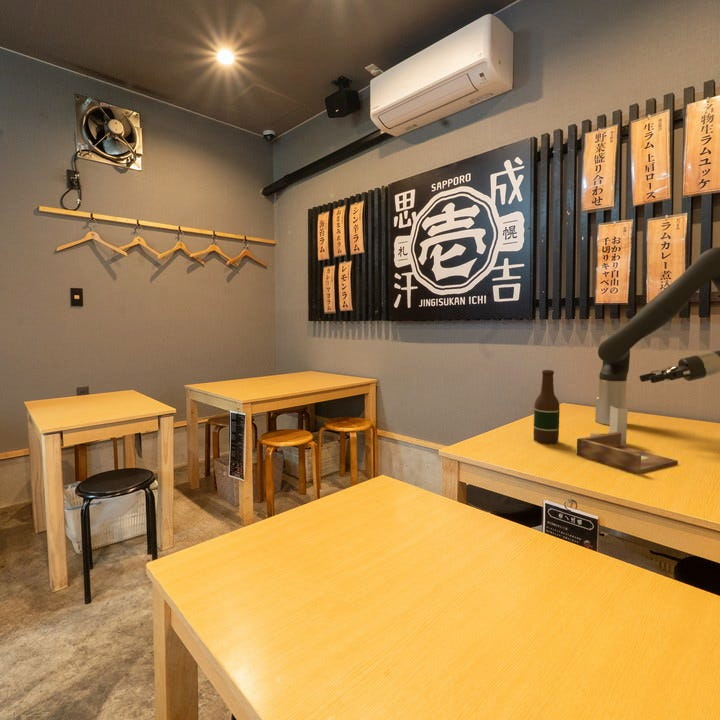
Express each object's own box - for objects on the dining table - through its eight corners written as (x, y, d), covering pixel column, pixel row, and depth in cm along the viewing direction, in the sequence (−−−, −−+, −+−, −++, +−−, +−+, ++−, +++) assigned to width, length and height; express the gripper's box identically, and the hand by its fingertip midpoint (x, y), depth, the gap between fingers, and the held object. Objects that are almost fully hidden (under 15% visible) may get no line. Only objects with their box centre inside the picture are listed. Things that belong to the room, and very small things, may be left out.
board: (576, 455, 129) (576, 451, 128) (616, 447, 136) (616, 444, 136) (636, 474, 112) (636, 470, 112) (677, 464, 120) (677, 460, 120)
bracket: (618, 441, 143) (619, 405, 142) (626, 445, 138) (627, 408, 137) (590, 440, 144) (591, 405, 143) (596, 444, 139) (598, 408, 138)
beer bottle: (557, 439, 146) (559, 369, 144) (559, 445, 139) (562, 371, 137) (532, 437, 149) (534, 368, 147) (534, 443, 141) (536, 371, 139)
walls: (576, 451, 129) (577, 438, 128) (616, 444, 136) (616, 432, 136) (636, 470, 112) (637, 455, 112) (677, 460, 120) (678, 446, 119)
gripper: (685, 355, 145) (633, 368, 149) (708, 354, 131) (650, 368, 135) (692, 376, 144) (640, 389, 148) (716, 378, 130) (658, 391, 134)
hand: (645, 379), depth 141 cm, fingers open, 8 cm apart
